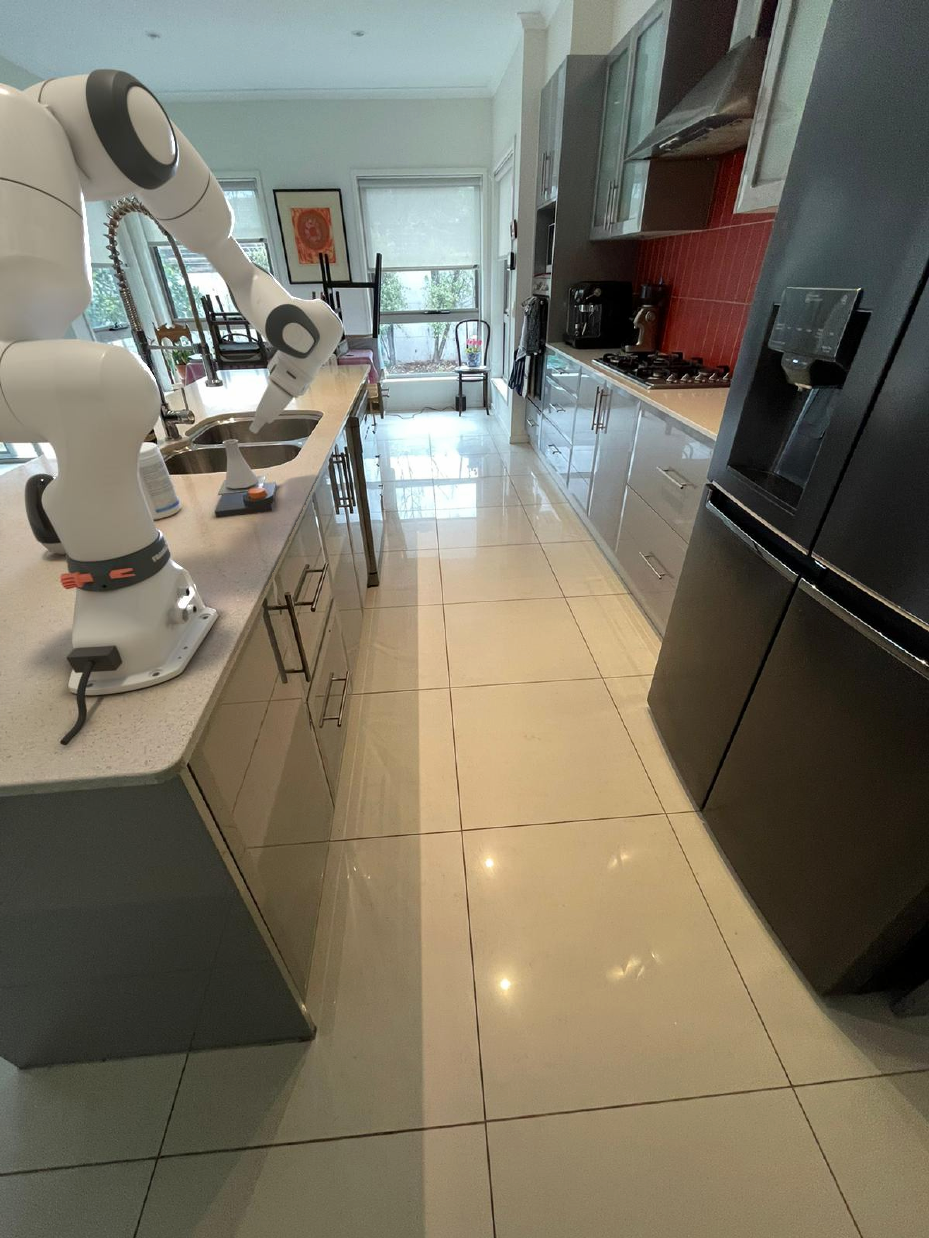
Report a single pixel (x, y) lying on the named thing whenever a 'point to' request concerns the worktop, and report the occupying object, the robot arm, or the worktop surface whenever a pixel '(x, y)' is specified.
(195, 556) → the worktop surface
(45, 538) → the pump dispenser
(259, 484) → the weighing plate
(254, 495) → the button
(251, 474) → the flask
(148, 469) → the supplement tub
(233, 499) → the scale
